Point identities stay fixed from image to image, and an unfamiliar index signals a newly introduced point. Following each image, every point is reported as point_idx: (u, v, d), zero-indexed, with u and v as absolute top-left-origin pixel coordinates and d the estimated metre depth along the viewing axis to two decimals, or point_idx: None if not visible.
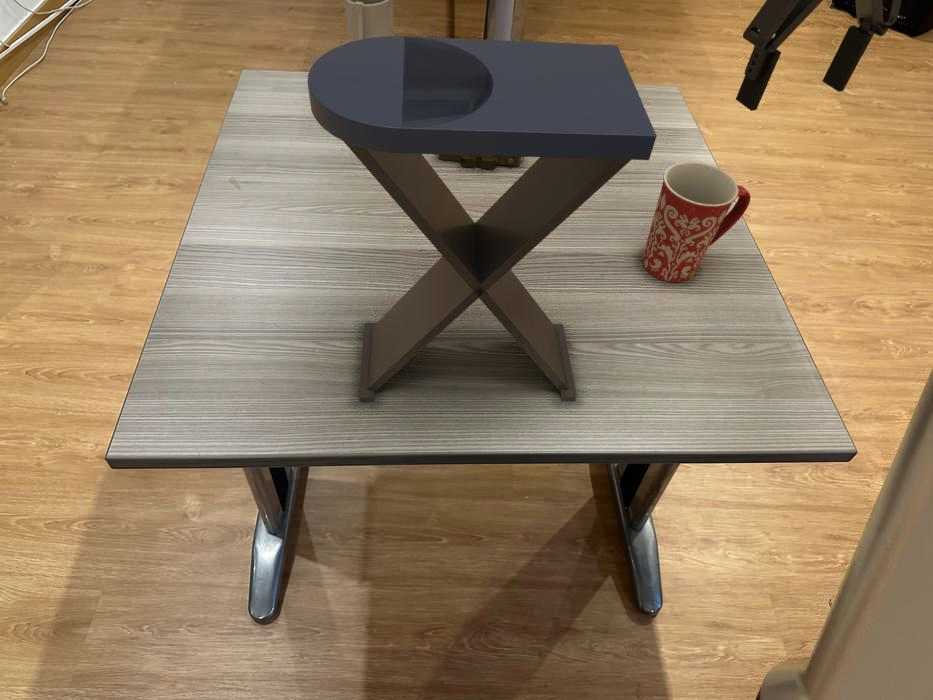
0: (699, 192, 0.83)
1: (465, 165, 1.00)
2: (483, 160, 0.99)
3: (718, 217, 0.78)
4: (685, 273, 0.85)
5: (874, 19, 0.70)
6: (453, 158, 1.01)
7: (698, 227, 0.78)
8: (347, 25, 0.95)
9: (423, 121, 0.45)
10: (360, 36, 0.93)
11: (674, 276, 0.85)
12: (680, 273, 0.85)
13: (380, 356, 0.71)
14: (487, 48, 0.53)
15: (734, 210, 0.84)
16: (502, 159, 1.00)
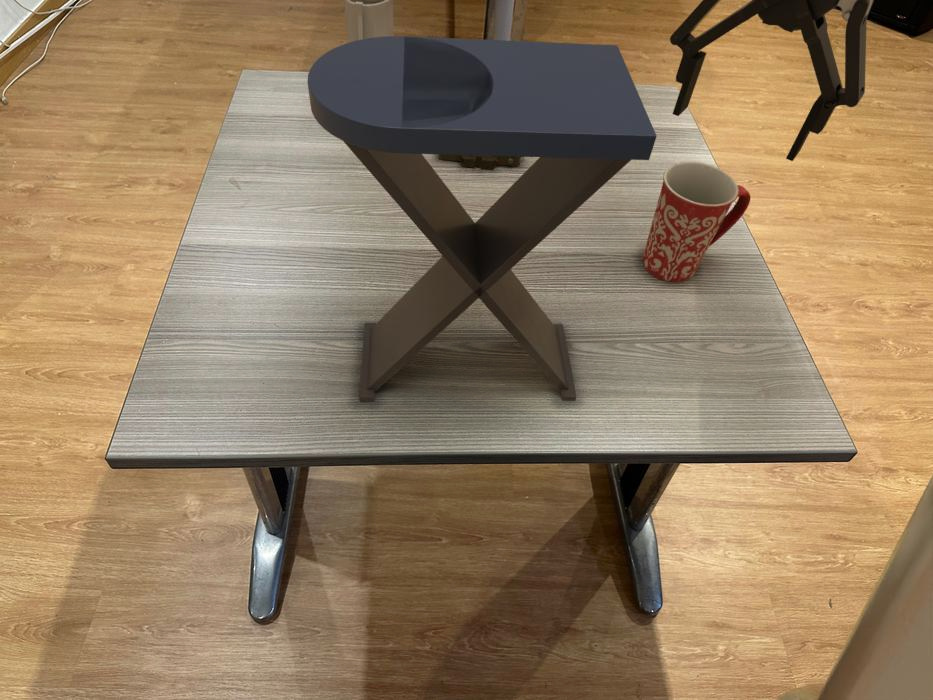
0: (699, 192, 0.83)
1: (465, 165, 1.00)
2: (483, 160, 0.99)
3: (718, 217, 0.78)
4: (685, 273, 0.85)
5: (821, 85, 0.65)
6: (453, 158, 1.01)
7: (698, 227, 0.78)
8: (347, 25, 0.95)
9: (423, 121, 0.45)
10: (360, 36, 0.93)
11: (674, 276, 0.85)
12: (680, 273, 0.85)
13: (380, 356, 0.71)
14: (487, 48, 0.53)
15: (734, 210, 0.84)
16: (502, 159, 1.00)
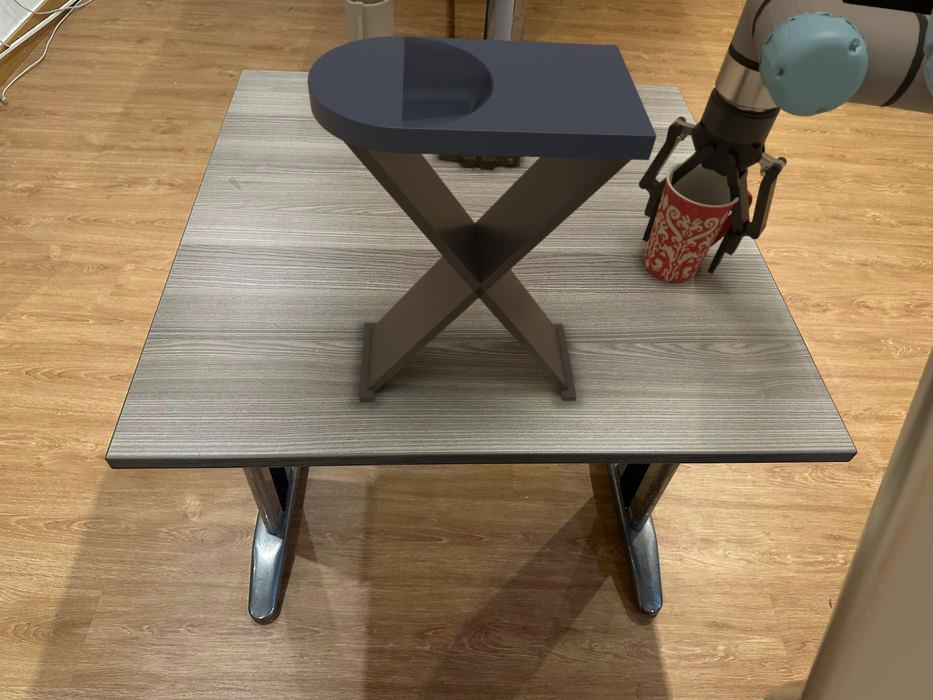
0: (701, 192, 0.83)
1: (465, 165, 1.00)
2: (483, 160, 0.99)
3: (720, 218, 0.77)
4: (686, 274, 0.85)
5: (733, 219, 0.79)
6: (453, 158, 1.01)
7: (700, 228, 0.78)
8: (347, 25, 0.95)
9: (423, 121, 0.45)
10: (360, 36, 0.93)
11: (675, 276, 0.85)
12: (681, 273, 0.85)
13: (380, 356, 0.71)
14: (487, 48, 0.53)
15: None
16: (502, 159, 1.00)
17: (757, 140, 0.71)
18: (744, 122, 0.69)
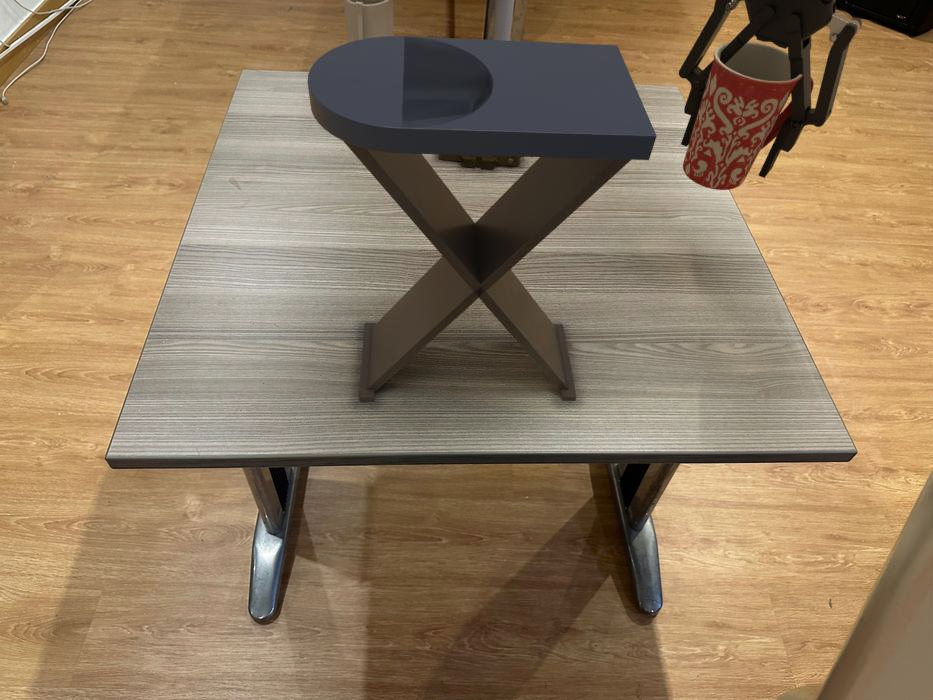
0: None
1: (465, 165, 1.00)
2: (483, 160, 0.99)
3: (780, 100, 0.66)
4: (735, 178, 0.73)
5: (793, 104, 0.67)
6: (453, 158, 1.01)
7: (755, 113, 0.66)
8: (347, 25, 0.95)
9: (423, 121, 0.45)
10: (360, 36, 0.93)
11: (722, 181, 0.73)
12: (729, 177, 0.73)
13: (380, 356, 0.71)
14: (487, 48, 0.53)
15: None
16: (502, 159, 1.00)
17: None
18: None
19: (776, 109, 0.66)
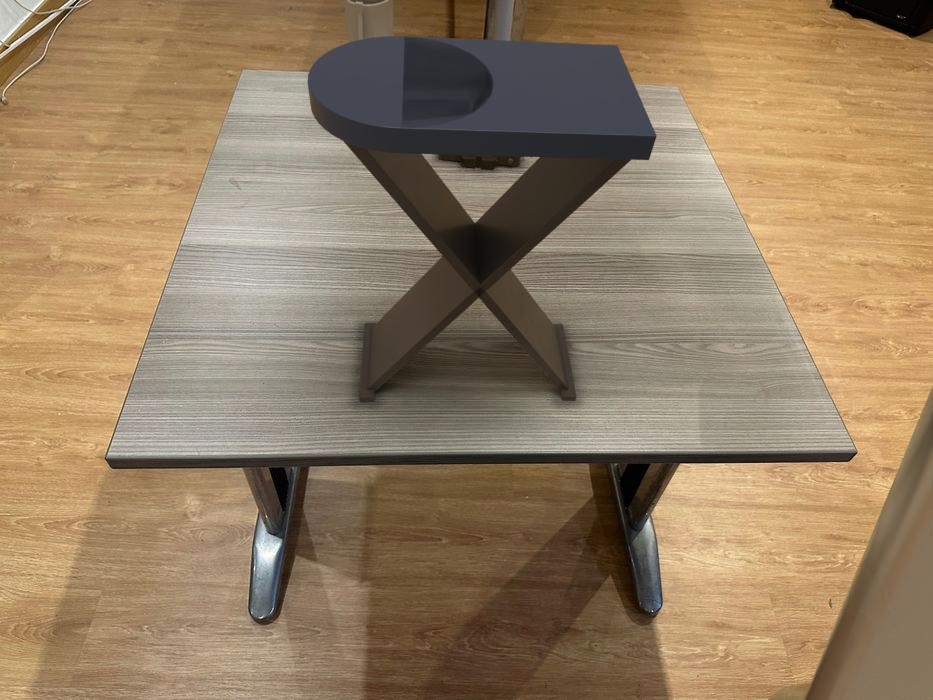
0: None
1: (465, 165, 1.00)
2: (483, 160, 0.99)
3: None
4: None
5: None
6: (453, 158, 1.01)
7: None
8: (347, 25, 0.95)
9: (423, 121, 0.45)
10: (360, 36, 0.93)
11: None
12: None
13: (380, 356, 0.71)
14: (487, 48, 0.53)
15: None
16: (502, 159, 1.00)
17: None
18: None
19: None
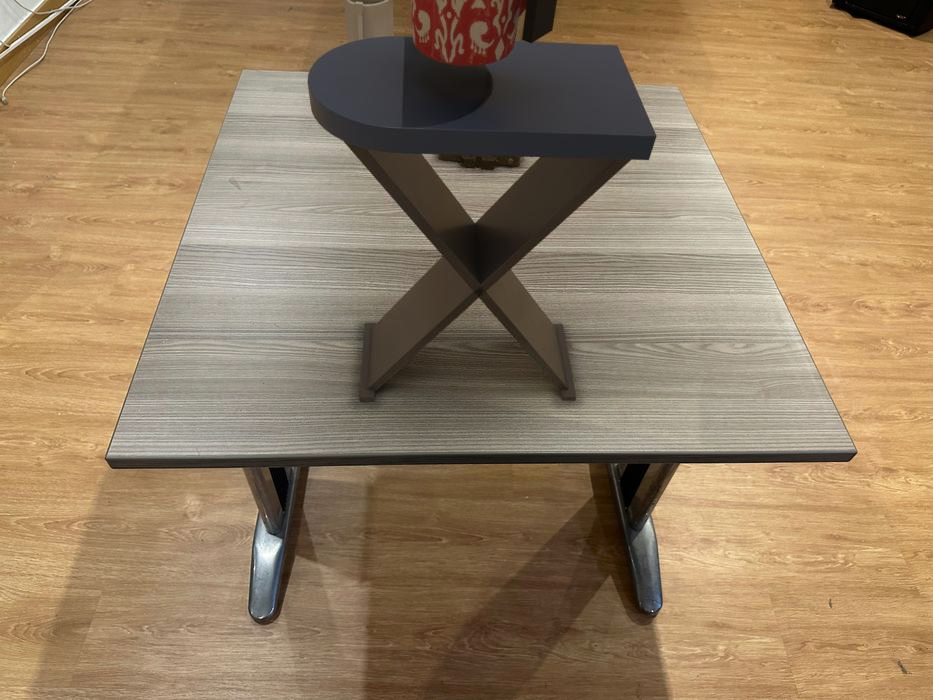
0: None
1: (465, 165, 1.00)
2: (483, 160, 0.99)
3: None
4: (480, 42, 0.43)
5: None
6: (453, 158, 1.01)
7: None
8: (347, 25, 0.95)
9: (423, 121, 0.45)
10: (360, 36, 0.93)
11: (459, 47, 0.43)
12: (469, 40, 0.42)
13: (380, 356, 0.71)
14: None
15: None
16: (502, 159, 1.00)
17: None
18: None
19: None
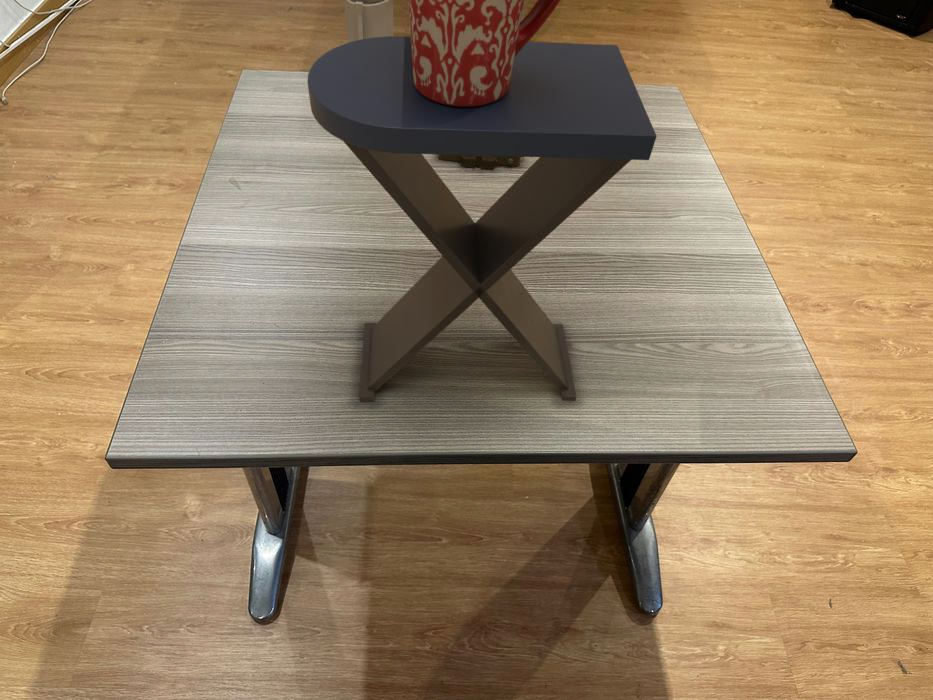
0: None
1: (465, 165, 1.00)
2: (483, 160, 0.99)
3: None
4: (480, 85, 0.45)
5: None
6: (453, 158, 1.01)
7: None
8: (347, 25, 0.95)
9: (423, 121, 0.45)
10: (360, 36, 0.93)
11: (459, 90, 0.45)
12: (469, 84, 0.45)
13: (380, 356, 0.71)
14: None
15: None
16: (502, 159, 1.00)
17: None
18: None
19: None
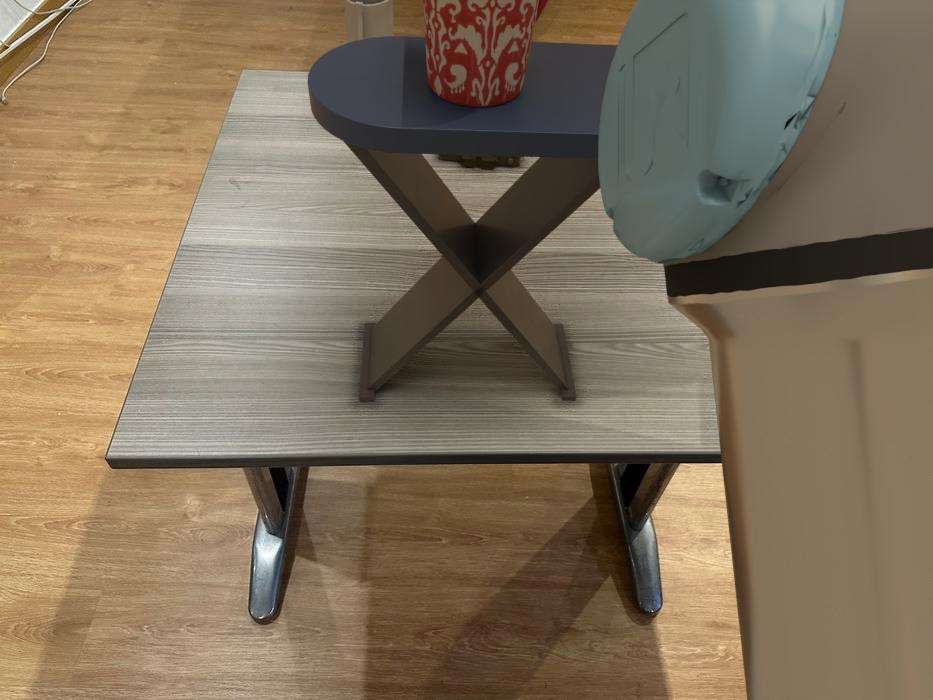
0: None
1: (465, 165, 1.00)
2: (483, 160, 0.99)
3: None
4: (512, 81, 0.46)
5: None
6: (453, 158, 1.01)
7: None
8: (347, 25, 0.95)
9: (423, 121, 0.45)
10: (360, 36, 0.93)
11: (495, 90, 0.46)
12: (504, 82, 0.45)
13: (380, 356, 0.71)
14: None
15: None
16: (502, 159, 1.00)
17: None
18: None
19: None
